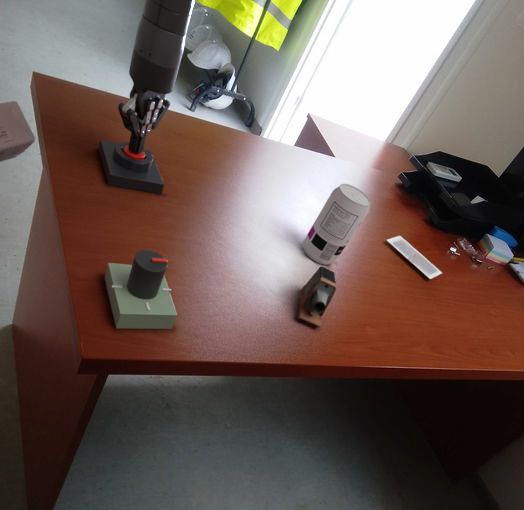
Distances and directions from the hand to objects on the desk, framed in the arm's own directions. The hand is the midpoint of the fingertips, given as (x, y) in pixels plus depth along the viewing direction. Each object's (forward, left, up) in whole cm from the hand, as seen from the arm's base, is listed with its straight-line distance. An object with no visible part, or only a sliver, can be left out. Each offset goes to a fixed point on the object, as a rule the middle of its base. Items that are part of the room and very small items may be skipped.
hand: (135, 151), depth 86 cm
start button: (0, 0, -2) cm, 2 cm away
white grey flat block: (+59, +39, -5) cm, 71 cm away
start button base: (0, 0, -4) cm, 4 cm away
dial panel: (+22, -29, -4) cm, 37 cm away
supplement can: (+39, +14, -5) cm, 42 cm away
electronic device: (+44, -6, -5) cm, 44 cm away
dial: (+22, -29, -1) cm, 36 cm away
